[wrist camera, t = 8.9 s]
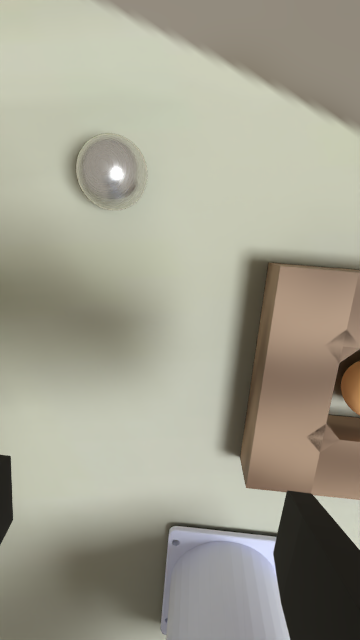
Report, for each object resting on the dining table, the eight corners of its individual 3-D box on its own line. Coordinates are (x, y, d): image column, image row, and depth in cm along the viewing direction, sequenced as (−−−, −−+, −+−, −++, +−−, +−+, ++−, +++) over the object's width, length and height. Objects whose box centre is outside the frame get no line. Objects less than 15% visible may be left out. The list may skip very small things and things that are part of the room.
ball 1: (150, 215, 16) (139, 209, 13) (89, 210, 17) (64, 203, 13) (153, 147, 16) (143, 124, 13) (89, 143, 16) (63, 119, 13)
